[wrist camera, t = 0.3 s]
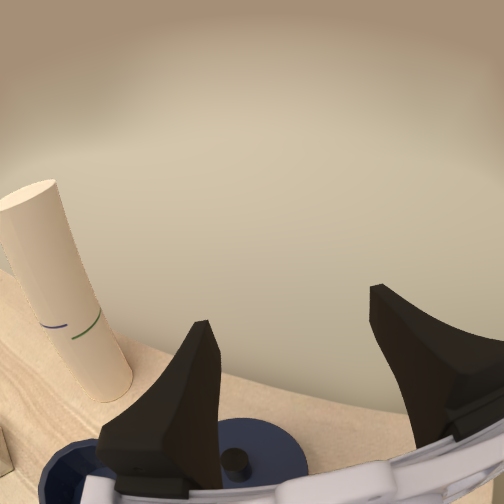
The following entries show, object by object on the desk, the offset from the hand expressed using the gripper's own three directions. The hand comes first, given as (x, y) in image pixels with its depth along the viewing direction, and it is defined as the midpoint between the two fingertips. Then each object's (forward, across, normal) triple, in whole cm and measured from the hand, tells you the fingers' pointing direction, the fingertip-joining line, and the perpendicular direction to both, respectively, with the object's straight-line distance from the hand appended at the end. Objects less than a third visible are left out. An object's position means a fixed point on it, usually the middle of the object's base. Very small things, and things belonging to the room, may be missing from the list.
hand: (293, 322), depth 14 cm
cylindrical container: (+14, +24, +18) cm, 32 cm away
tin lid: (+1, +7, +19) cm, 21 cm away
